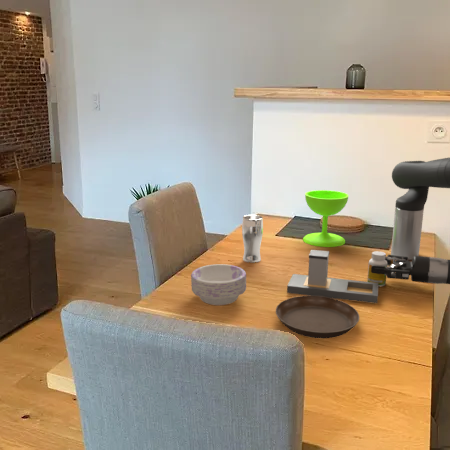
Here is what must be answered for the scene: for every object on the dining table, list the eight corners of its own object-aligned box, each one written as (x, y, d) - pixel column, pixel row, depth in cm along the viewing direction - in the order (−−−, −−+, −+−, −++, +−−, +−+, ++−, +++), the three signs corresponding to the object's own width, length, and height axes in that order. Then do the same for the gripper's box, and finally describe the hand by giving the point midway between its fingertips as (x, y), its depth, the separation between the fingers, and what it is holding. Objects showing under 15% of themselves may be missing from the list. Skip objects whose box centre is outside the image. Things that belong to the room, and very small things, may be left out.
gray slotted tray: (292, 280, 160) (294, 245, 157) (377, 290, 153) (381, 253, 150) (287, 292, 151) (288, 255, 148) (377, 303, 144) (380, 264, 141)
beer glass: (238, 261, 177) (239, 218, 173) (245, 255, 183) (246, 213, 179) (258, 264, 174) (259, 220, 170) (264, 258, 180) (265, 215, 176)
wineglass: (349, 247, 193) (352, 199, 188) (305, 246, 193) (308, 199, 188) (340, 234, 208) (343, 190, 203) (300, 234, 208) (302, 190, 203)
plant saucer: (361, 347, 121) (362, 334, 120) (271, 339, 124) (272, 326, 123) (355, 310, 140) (356, 298, 140) (278, 304, 144) (278, 293, 143)
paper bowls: (184, 293, 150) (183, 267, 148) (232, 285, 156) (232, 260, 154) (202, 314, 137) (202, 286, 135) (255, 305, 143) (255, 277, 140)
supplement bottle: (386, 287, 155) (389, 256, 152) (367, 286, 156) (370, 255, 153) (384, 281, 160) (387, 251, 157) (366, 279, 161) (369, 249, 158)
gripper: (428, 250, 158) (373, 245, 162) (432, 265, 145) (372, 259, 149) (426, 273, 160) (371, 268, 164) (429, 291, 147) (370, 284, 151)
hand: (371, 264), depth 157 cm, fingers open, 8 cm apart
